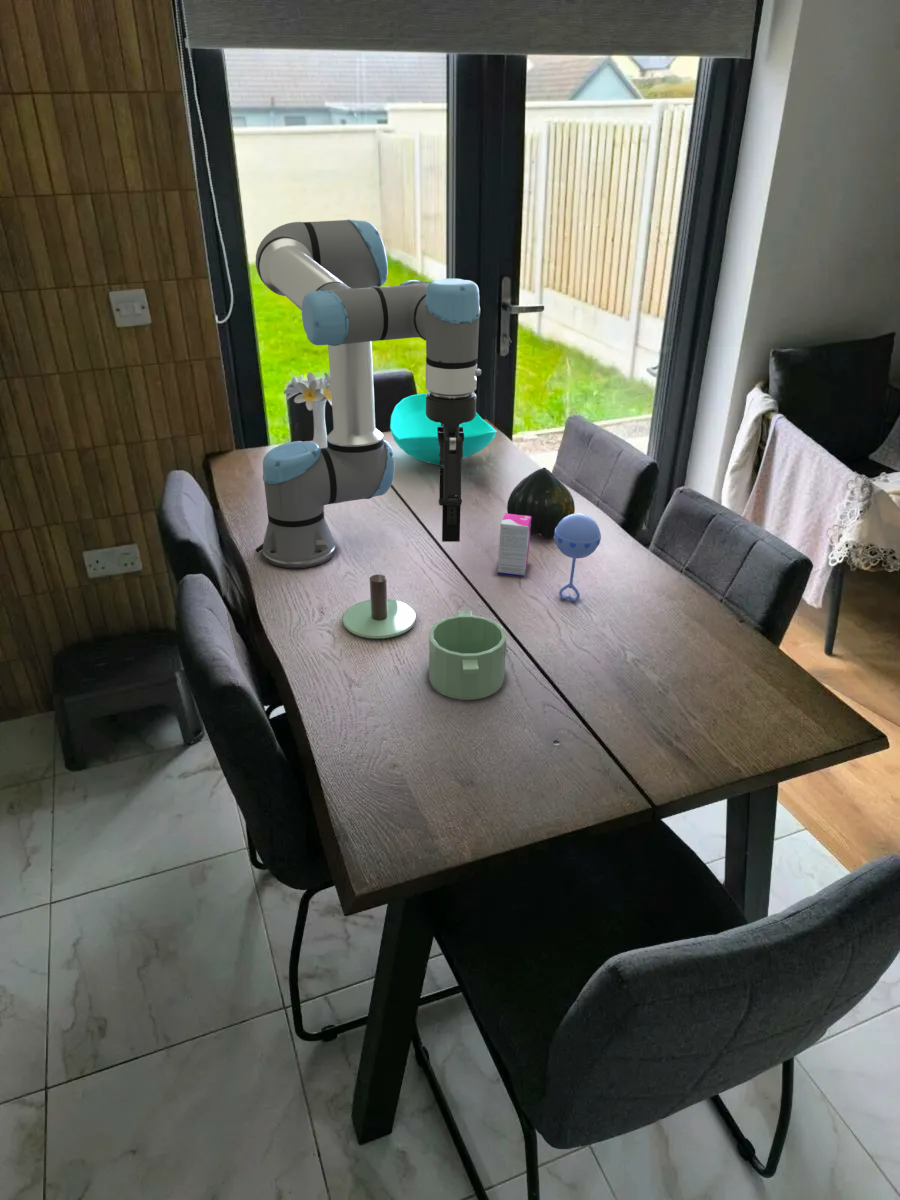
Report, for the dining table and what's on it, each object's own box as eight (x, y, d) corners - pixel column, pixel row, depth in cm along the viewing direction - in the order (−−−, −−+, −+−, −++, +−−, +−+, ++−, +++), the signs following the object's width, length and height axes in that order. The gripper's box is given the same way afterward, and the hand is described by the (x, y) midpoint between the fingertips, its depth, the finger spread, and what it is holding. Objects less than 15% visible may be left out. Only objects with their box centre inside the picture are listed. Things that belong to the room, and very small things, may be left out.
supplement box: (525, 577, 170) (528, 526, 164) (496, 575, 171) (498, 523, 165) (528, 565, 175) (531, 515, 169) (500, 562, 176) (503, 512, 170)
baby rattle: (597, 594, 164) (606, 509, 156) (589, 614, 157) (598, 527, 148) (554, 586, 167) (561, 503, 158) (544, 607, 160) (551, 520, 151)
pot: (430, 710, 131) (430, 666, 127) (428, 649, 146) (427, 607, 142) (508, 709, 131) (511, 664, 127) (498, 648, 147) (500, 606, 143)
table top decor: (377, 441, 242) (376, 396, 236) (468, 434, 249) (469, 390, 242) (411, 492, 209) (410, 441, 202) (514, 481, 216) (517, 432, 209)
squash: (533, 531, 176) (568, 470, 177) (485, 512, 186) (517, 454, 187) (565, 557, 187) (597, 499, 188) (517, 538, 197) (548, 483, 198)
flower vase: (364, 472, 221) (360, 378, 208) (295, 480, 215) (286, 384, 203) (352, 456, 231) (348, 365, 219) (286, 463, 226) (277, 371, 213)
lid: (340, 642, 148) (337, 597, 144) (345, 604, 160) (343, 561, 155) (416, 640, 149) (415, 596, 144) (415, 603, 160) (414, 560, 156)
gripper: (483, 418, 113) (477, 557, 124) (471, 369, 134) (467, 491, 145) (427, 418, 113) (427, 557, 123) (424, 368, 134) (424, 491, 145)
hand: (449, 522), depth 134 cm, fingers open, 13 cm apart
